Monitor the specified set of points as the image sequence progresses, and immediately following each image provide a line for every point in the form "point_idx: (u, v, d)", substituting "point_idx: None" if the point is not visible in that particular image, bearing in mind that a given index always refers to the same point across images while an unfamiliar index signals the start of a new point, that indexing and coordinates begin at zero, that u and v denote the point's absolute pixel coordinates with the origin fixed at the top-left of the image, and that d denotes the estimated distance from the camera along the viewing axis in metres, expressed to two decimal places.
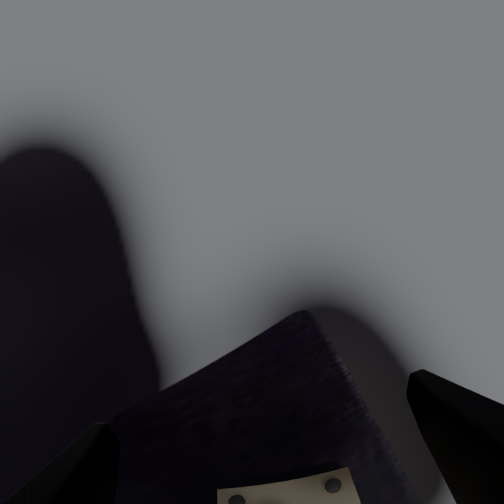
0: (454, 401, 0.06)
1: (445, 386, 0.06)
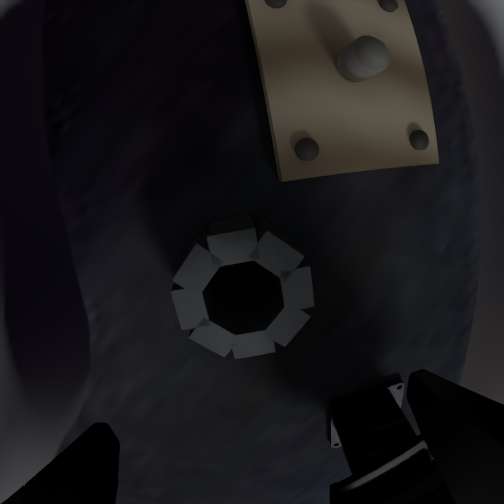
0: (454, 401, 0.06)
1: (445, 385, 0.06)
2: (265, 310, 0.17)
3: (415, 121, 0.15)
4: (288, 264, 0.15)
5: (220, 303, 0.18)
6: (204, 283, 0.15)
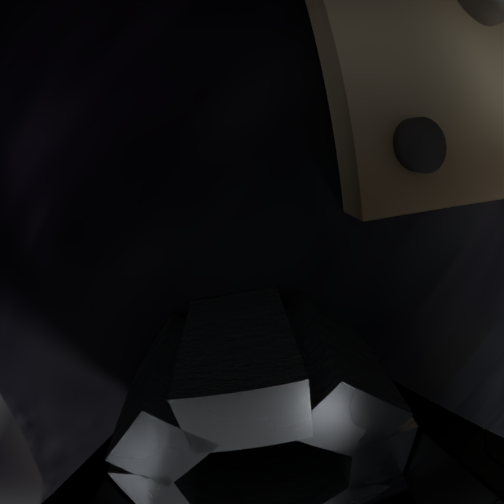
0: (419, 416, 0.06)
1: (412, 399, 0.06)
2: (302, 464, 0.08)
3: None
4: (375, 433, 0.05)
5: None
6: (177, 472, 0.05)
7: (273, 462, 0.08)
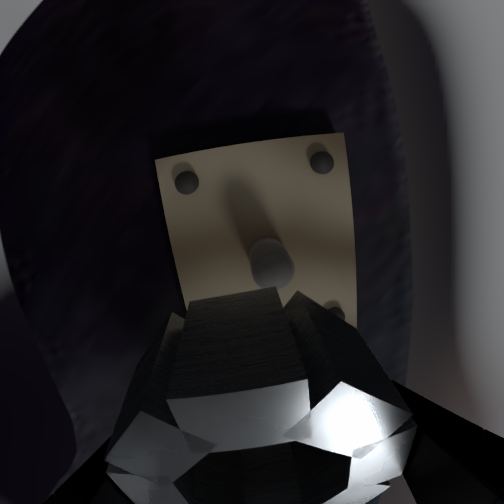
0: (419, 416, 0.06)
1: (412, 399, 0.06)
2: (301, 464, 0.08)
3: (333, 299, 0.18)
4: (375, 434, 0.05)
5: None
6: (175, 472, 0.05)
7: (272, 462, 0.08)
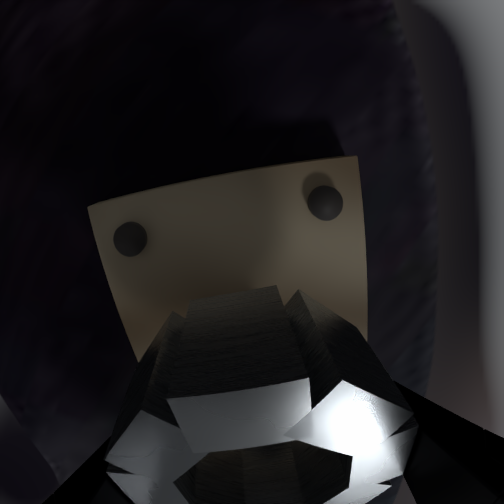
0: (419, 416, 0.06)
1: (412, 399, 0.06)
2: (302, 463, 0.08)
3: None
4: (376, 433, 0.05)
5: None
6: (176, 472, 0.05)
7: (273, 462, 0.08)
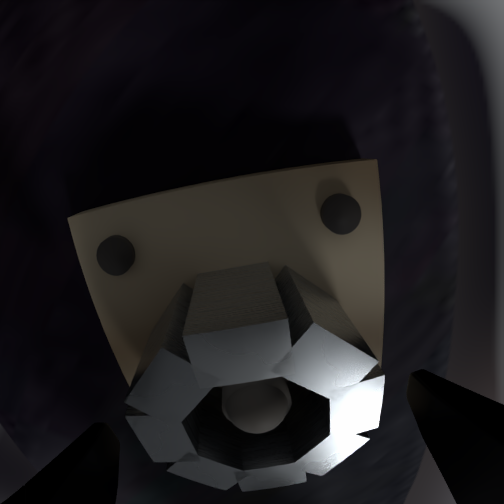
0: (454, 401, 0.06)
1: (445, 386, 0.06)
2: (291, 420, 0.09)
3: None
4: (347, 377, 0.07)
5: (217, 404, 0.10)
6: (184, 410, 0.07)
7: None
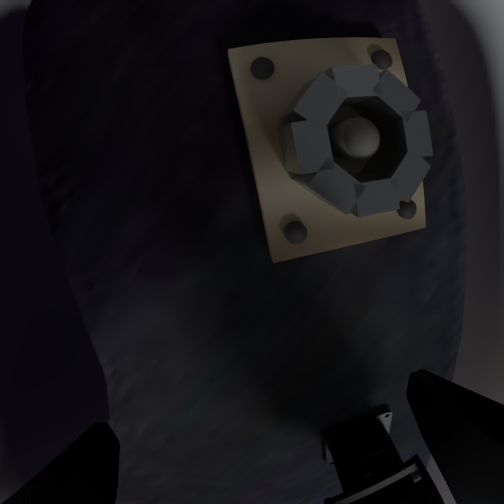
0: (454, 401, 0.06)
1: (445, 385, 0.06)
2: (377, 170, 0.14)
3: None
4: (408, 105, 0.12)
5: None
6: (329, 115, 0.12)
7: (360, 175, 0.15)
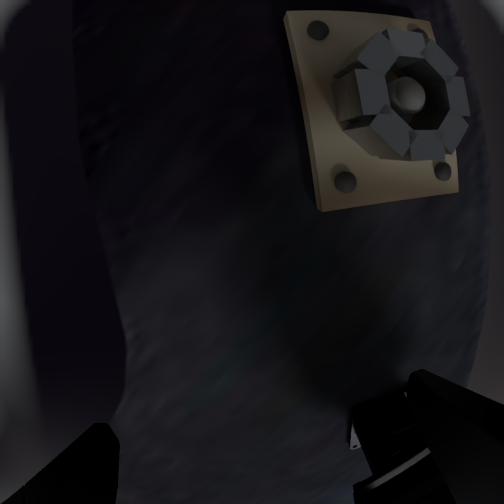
0: (454, 401, 0.06)
1: (445, 385, 0.06)
2: (422, 127, 0.14)
3: None
4: (448, 70, 0.12)
5: None
6: (386, 68, 0.12)
7: None
